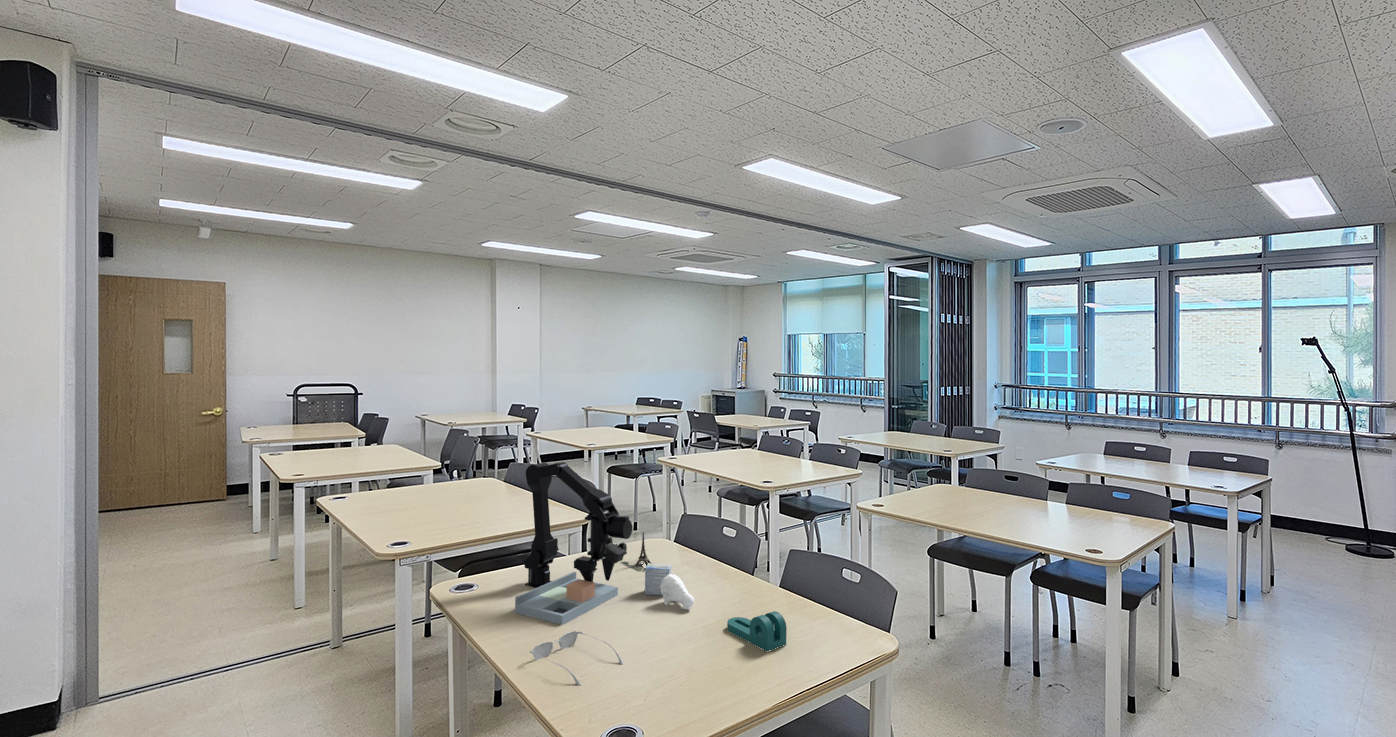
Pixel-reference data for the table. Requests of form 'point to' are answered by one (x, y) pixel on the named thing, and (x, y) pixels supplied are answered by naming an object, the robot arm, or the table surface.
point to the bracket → (760, 630)
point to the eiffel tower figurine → (644, 558)
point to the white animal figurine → (676, 591)
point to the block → (580, 590)
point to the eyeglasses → (564, 642)
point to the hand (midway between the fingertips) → (599, 584)
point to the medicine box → (655, 578)
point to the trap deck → (560, 600)
